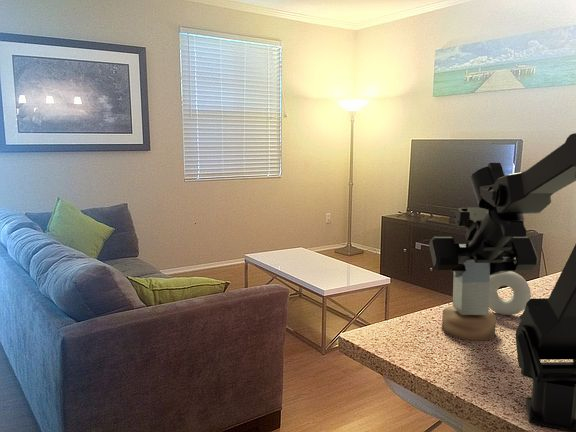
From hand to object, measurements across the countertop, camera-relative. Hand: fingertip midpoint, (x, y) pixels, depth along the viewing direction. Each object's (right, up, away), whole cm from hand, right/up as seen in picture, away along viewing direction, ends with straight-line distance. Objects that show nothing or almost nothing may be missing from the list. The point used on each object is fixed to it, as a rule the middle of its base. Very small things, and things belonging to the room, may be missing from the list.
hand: (468, 275), depth 95 cm
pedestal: (0, -11, 0) cm, 11 cm away
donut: (+12, -10, +10) cm, 18 cm away
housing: (0, -7, 0) cm, 7 cm away
